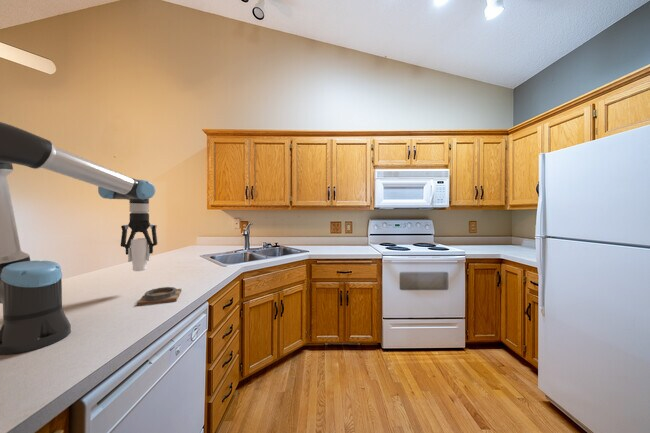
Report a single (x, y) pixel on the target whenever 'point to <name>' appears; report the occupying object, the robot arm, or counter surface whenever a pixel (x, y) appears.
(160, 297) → the ring holder
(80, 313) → the counter surface
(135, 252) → the drinking glass
